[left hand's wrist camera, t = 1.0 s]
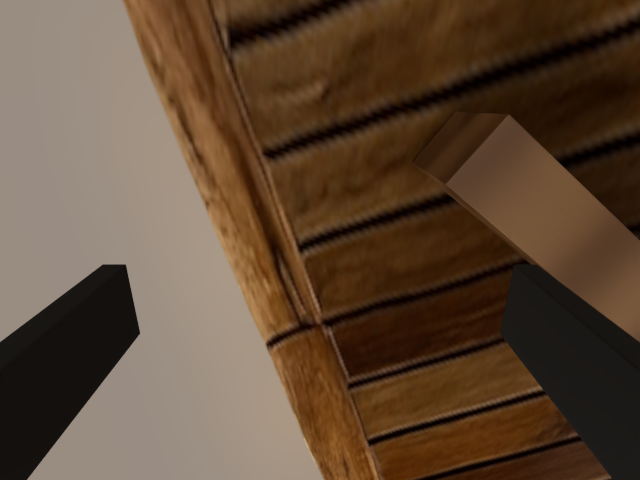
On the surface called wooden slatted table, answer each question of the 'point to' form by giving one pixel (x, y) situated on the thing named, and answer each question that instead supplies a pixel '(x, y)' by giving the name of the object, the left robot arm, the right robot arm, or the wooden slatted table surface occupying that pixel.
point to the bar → (538, 210)
